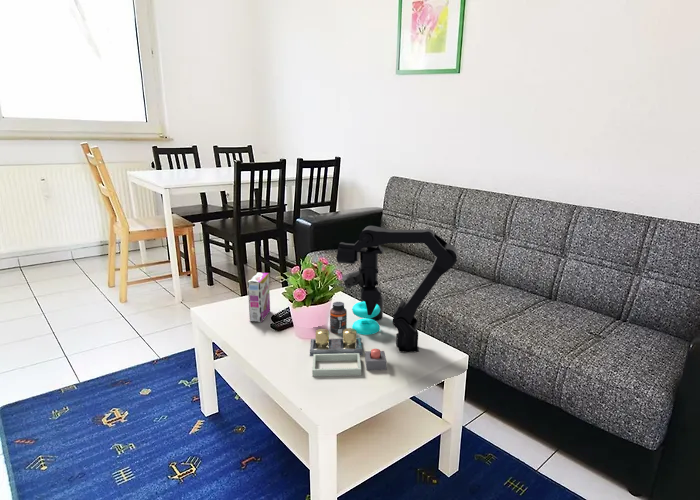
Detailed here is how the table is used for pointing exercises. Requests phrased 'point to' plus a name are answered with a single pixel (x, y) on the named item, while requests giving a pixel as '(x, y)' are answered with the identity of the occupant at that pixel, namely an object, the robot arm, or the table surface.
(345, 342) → the billet
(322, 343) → the cylinder
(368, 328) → the donuts
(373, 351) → the button
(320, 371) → the tray
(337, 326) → the supplement bottle
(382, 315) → the supplement bottle
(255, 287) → the candy bar box
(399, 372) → the table surface
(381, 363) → the grey square socket block
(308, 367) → the table surface
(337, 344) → the grey flat frame
